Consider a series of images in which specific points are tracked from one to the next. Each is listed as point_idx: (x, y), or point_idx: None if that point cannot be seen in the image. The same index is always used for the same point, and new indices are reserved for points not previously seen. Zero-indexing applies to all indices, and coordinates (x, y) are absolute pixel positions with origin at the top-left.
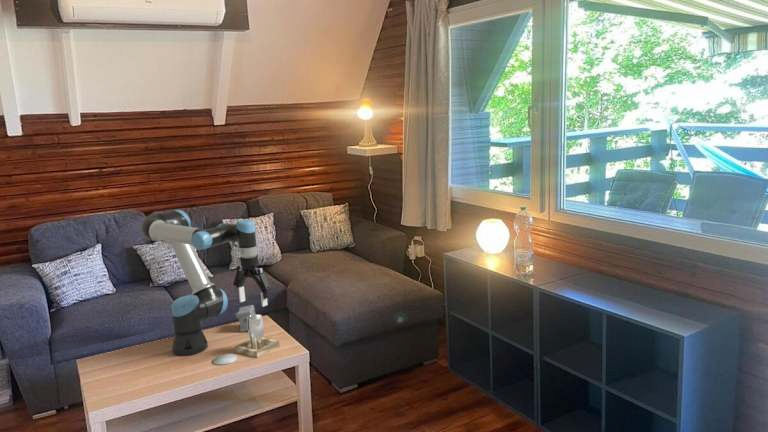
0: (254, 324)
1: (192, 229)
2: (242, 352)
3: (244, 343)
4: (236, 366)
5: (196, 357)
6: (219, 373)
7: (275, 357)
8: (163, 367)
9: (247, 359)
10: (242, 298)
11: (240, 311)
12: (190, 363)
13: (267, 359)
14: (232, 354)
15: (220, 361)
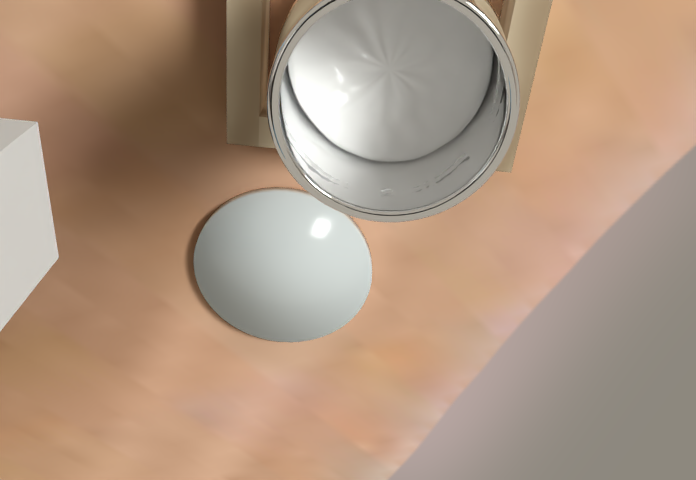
0: (453, 172)
1: None
2: None
3: (256, 53)
4: (439, 313)
5: (50, 298)
6: (400, 409)
7: (660, 92)
8: (13, 448)
9: None
10: (11, 247)
11: None
12: (105, 371)
13: (607, 148)
14: (273, 197)
15: (286, 314)
